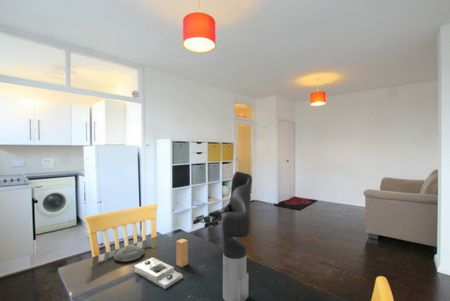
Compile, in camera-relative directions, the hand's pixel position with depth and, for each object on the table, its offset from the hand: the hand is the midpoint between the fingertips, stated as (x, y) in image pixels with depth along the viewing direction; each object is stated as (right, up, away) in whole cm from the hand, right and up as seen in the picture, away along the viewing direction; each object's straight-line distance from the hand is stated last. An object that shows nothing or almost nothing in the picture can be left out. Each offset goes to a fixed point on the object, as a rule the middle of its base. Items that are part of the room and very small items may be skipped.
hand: (199, 224), depth 124 cm
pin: (-7, -17, -10) cm, 21 cm away
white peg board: (-17, -17, -19) cm, 31 cm away
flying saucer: (-37, -17, -2) cm, 41 cm away
